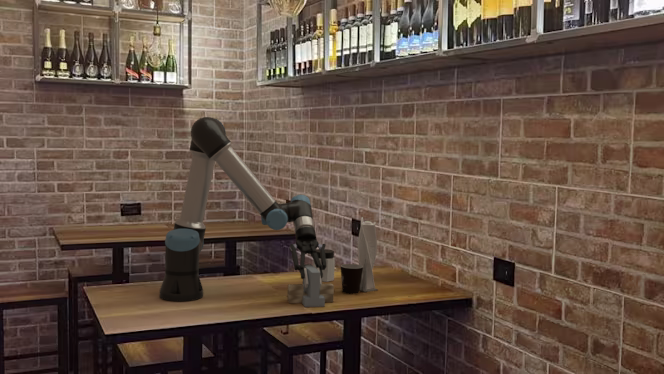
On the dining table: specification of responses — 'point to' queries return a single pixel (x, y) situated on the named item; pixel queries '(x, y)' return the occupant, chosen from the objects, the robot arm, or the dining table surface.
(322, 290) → the brown u-shaped block
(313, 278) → the grey angular block
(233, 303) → the dining table surface
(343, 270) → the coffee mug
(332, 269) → the jar
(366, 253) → the skyscraper
